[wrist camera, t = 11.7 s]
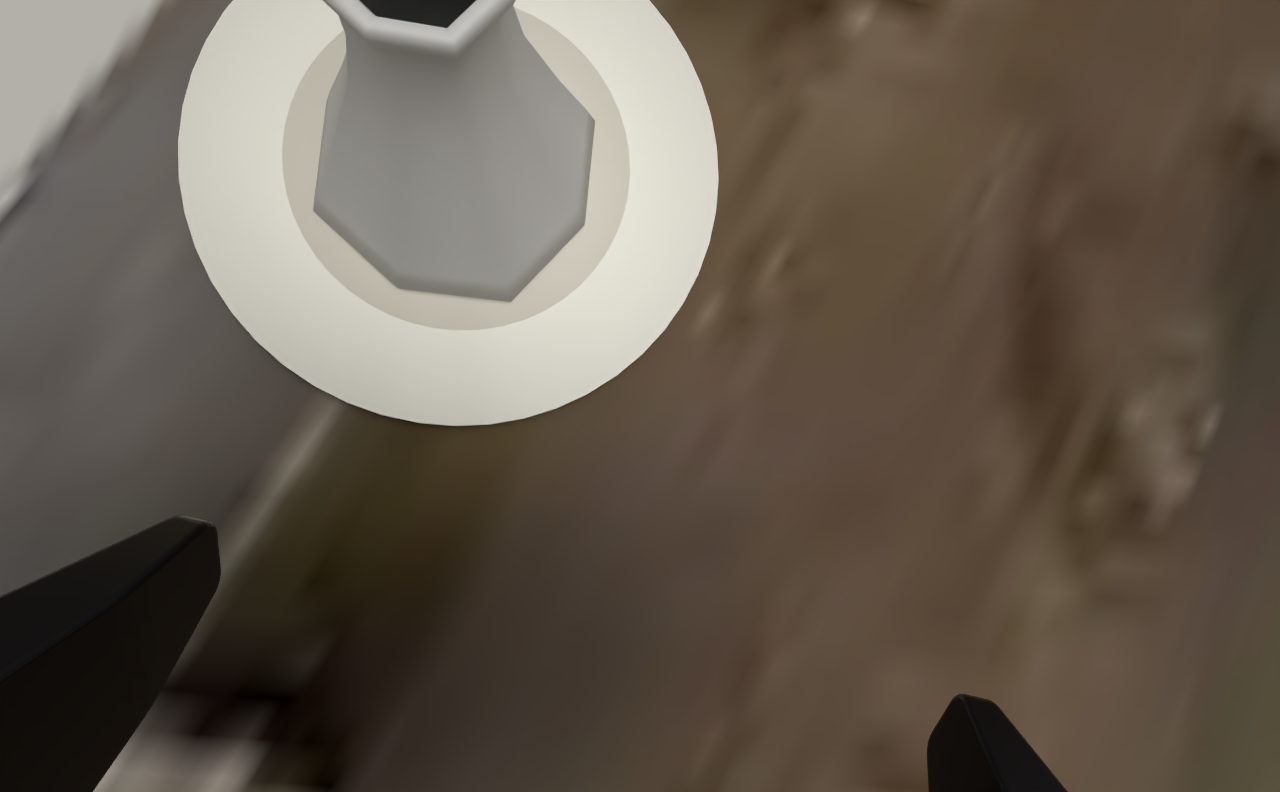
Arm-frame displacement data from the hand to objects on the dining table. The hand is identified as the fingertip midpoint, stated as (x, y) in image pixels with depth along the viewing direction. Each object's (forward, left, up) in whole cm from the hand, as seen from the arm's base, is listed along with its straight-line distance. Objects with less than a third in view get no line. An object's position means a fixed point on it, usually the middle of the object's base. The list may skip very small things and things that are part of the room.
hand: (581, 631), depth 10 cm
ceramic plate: (+4, +9, -13) cm, 16 cm away
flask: (+4, +9, -12) cm, 15 cm away
